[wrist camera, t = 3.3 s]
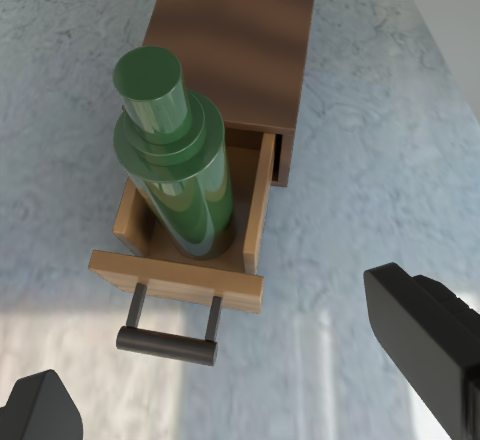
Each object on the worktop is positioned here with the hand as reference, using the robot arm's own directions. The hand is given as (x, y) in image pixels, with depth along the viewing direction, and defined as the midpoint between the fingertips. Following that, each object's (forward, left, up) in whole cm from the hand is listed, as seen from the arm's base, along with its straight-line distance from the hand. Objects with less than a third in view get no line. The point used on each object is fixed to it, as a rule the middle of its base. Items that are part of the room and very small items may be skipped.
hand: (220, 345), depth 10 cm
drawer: (+5, -8, -19) cm, 22 cm away
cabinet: (+5, -22, -20) cm, 30 cm away
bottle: (+5, -9, -18) cm, 21 cm away
